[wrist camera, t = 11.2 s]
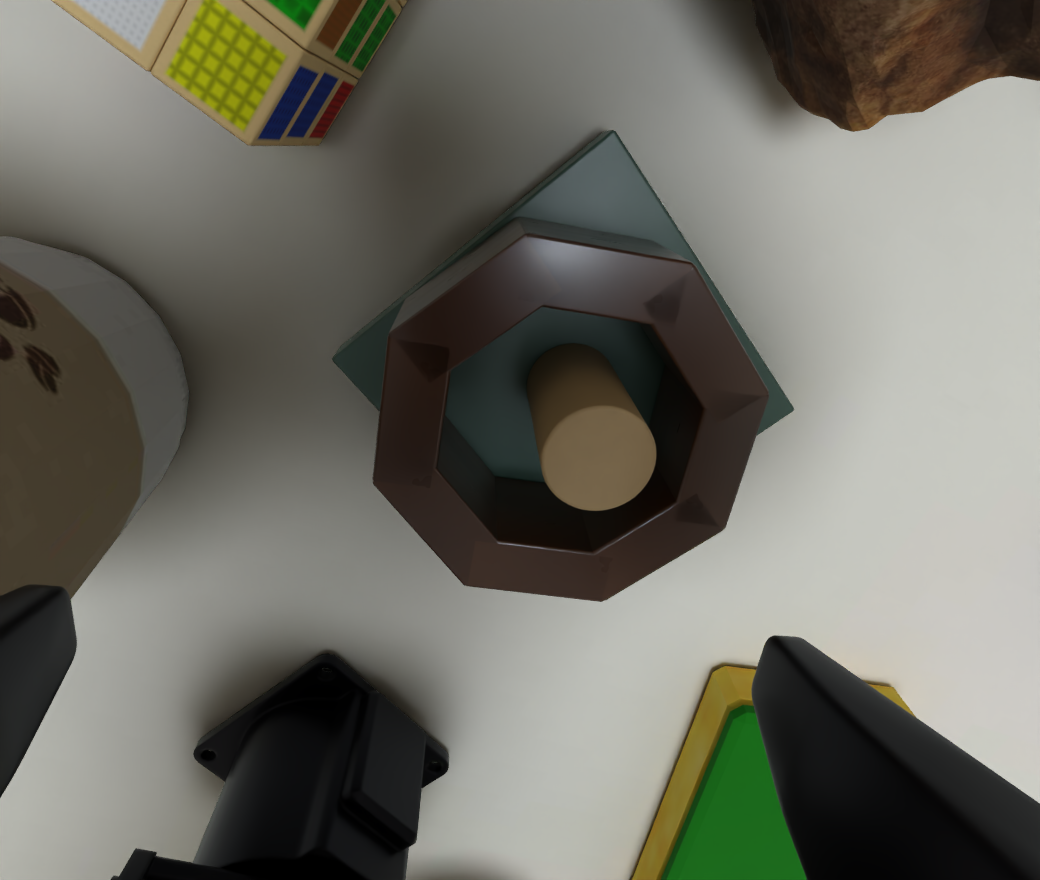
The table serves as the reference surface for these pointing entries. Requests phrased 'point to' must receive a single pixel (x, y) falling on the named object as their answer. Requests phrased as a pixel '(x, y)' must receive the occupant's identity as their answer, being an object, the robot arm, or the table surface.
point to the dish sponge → (724, 797)
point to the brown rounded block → (894, 51)
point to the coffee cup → (77, 412)
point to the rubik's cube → (250, 56)
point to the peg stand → (565, 353)
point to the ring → (532, 505)
